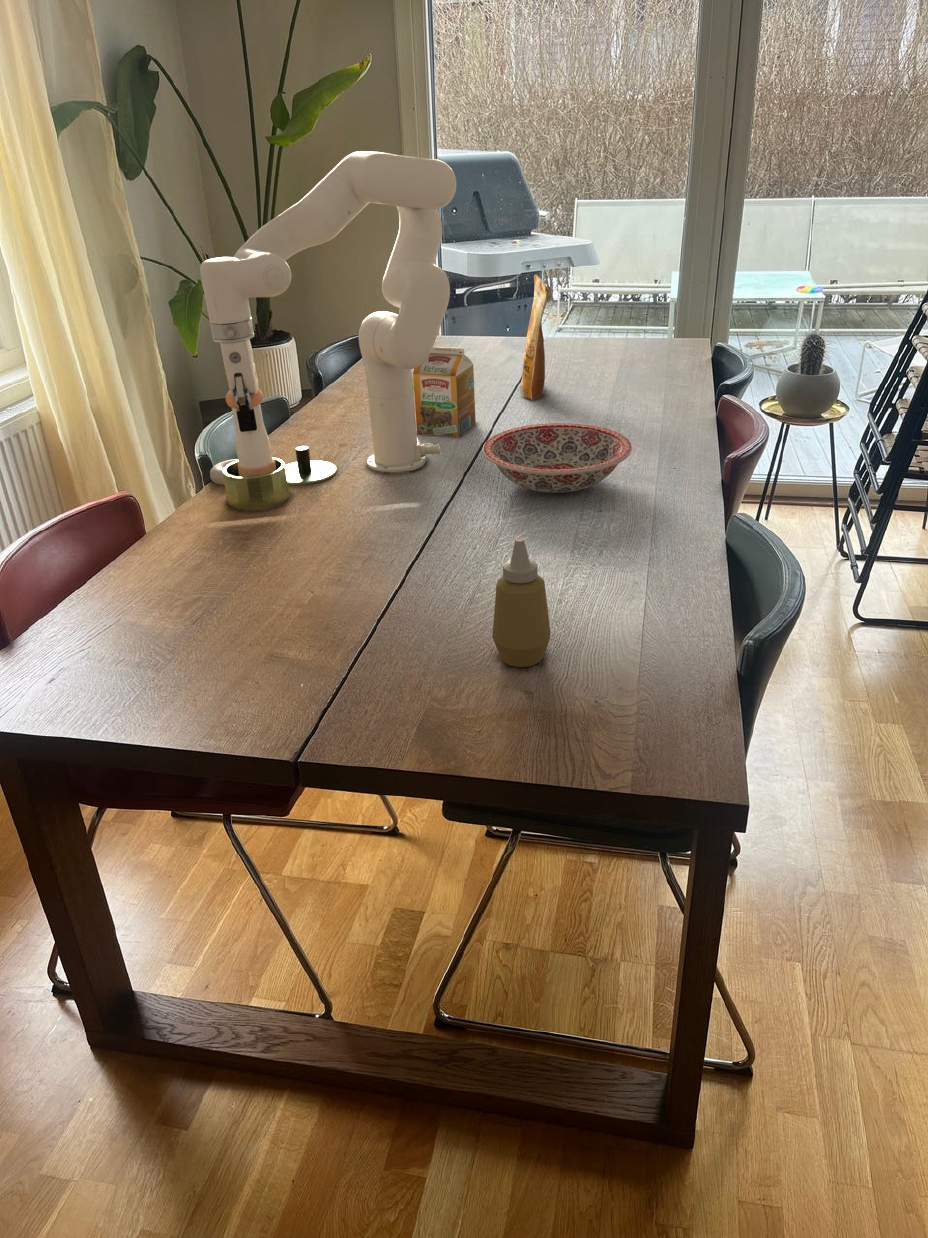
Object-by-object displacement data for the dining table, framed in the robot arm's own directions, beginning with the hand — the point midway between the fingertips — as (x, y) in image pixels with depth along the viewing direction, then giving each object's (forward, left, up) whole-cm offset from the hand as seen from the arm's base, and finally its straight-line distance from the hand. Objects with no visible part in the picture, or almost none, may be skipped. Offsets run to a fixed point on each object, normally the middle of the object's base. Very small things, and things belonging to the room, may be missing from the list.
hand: (249, 423), depth 183 cm
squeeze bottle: (-38, +71, -16) cm, 82 cm away
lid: (-9, -11, -15) cm, 21 cm away
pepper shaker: (0, 0, -11) cm, 11 cm away
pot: (0, 0, -15) cm, 15 cm away
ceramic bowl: (-59, +8, -16) cm, 61 cm away
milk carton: (-43, -34, -16) cm, 57 cm away
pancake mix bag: (-70, -58, -16) cm, 92 cm away
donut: (+6, -13, -16) cm, 21 cm away
